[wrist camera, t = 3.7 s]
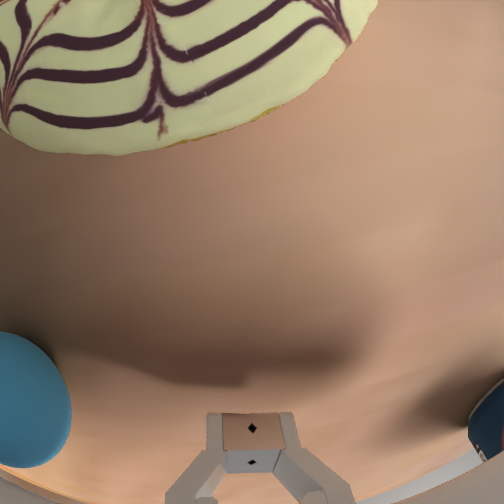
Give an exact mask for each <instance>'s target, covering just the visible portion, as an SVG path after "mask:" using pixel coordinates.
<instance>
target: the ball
mask: <svg viewBox="0 0 504 504" xmlns="http://www.w3.org/2000/svg"><path fill="white" fill-rule="evenodd" d="M71 418H72V415H71V402H70V397H69V393H68V390H67V387H66V384H65V382H64V380H63V378H62V376H61V374H60V372H59V370H58V369H57V367H56V366H55V364H54V363H53V362H52V360H51V359H50V358H49V357H48V356H47V355H46V354H45V353H44V352H43V351H42V350H41V349H40V348H39V347H37V346H36V345H35V344H33V343H32V342H30V341H29V340H27V339H25V338H23V337H21V336H18V335H16V334H12V333H8V332H0V463H1V464H3V465H6V466H10V467H15V468H31V467H35V466H39V465H42V464H44V463H46V462H48V461H49V460H51V459H52V458H53V457H55V456H56V455H57V453H58V452H59V451H60V450H61V449H62V447H63V446H64V444H65V442H66V440H67V437H68V435H69V431H70V426H71Z"/></svg>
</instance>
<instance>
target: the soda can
mask: <svg viewBox="0 0 504 504" xmlns="http://www.w3.org/2000/svg"><path fill="white" fill-rule="evenodd" d="M468 438H469V440H470V441H471V443H472V445H473V446H474V448H475V449H476V451H477V453H478V455H479V456H480V458H481V459H482V461H483V463H484V462H486V461H487V460H489V459H491V458H492V457H494V456H496V455H497V454H499V453H501V452H502V451H504V378H503V379H501V380H500V381H499V382H498V383H497V384H495V385H494V386H493V387H492V388H491V389H490V390H489V391H488V392H487V393H486V394H485V395H484V396H483V397H482V399H481V400H480V401H479V402H478V403H477V405H476V406H475V407H474V409H473V410H472V412H471V413H470V415H469V418H468Z"/></svg>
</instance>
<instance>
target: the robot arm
mask: <svg viewBox="0 0 504 504" xmlns="http://www.w3.org/2000/svg"><path fill="white" fill-rule="evenodd" d="M265 472H273V474H274V475H275V477H276V478H277V479H278V480H279V481H280V482H281V483H282V484H283V486H284V487H285V488H286V489H287V490H288V491H289V492H290V493H291V494H292V495H293V496H294V498H295V499H296V500H297V501H298V502H299V504H356V503H355V500H354V497H353V494H352V491H351V488H350V485H349V484H348V483H347V482H346V481H345V480H343V479H342V478H341V477H340V476H338V475H337V474H336V473H335V472H333V471H332V470H331V469H330V468H329V467H327V466H326V465H325V464H324V463H323V462H321V461H320V460H319V459H318V458H317V457H316V456H314V455H313V454H312V453H311V452H310V451H309V450H308V449H306V448H301V444H300V440H299V436H298V432H297V428H296V424H295V420H294V416H293V413H292V412H281V413H277V412H273V413H250V414H238V413H213V412H207V450H202V451H201V452H200V454H199V455H198V456H197V457H196V459H195V460H194V461H193V462H192V463H191V464H190V466H189V467H188V468H187V469H186V470H185V471H184V473H183V474H182V475H181V476H180V477H179V478H178V480H177V481H176V482H175V483H174V484H173V485H172V486H171V487H170V489H169V490H168V491H167V492H166V495H165V504H218V500H216V499H215V498H213V497H211V496H212V495H213V493H214V492H215V490H216V489H217V487H218V486H219V484H220V483H221V481H222V480H223V478H224V477H225V475H226V473H265ZM0 504H62V503H60V502H57V501H54V500H51V499H49V498H46V497H43V496H41V495H38V494H36V493H33V492H31V491H29V490H26V489H24V488H22V487H20V486H17V485H15V484H13V483H11V482H9V481H7V480H5V479H3V478H1V477H0ZM393 504H504V451H502V452H501V453H499V454H497V455H496V456H494V457H492V458H491V459H489V460H487V461H486V462H484V463H482V464H480V465H479V466H477V467H475V468H473V469H471V470H470V471H468V472H466V473H464V474H462V475H460V476H458V477H456V478H454V479H452V480H450V481H447V482H445V483H443V484H441V485H439V486H436V487H434V488H432V489H430V490H427V491H425V492H422V493H420V494H417V495H415V496H412V497H409V498H407V499H404V500H401V501H398V502H395V503H393Z"/></svg>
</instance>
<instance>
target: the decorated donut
mask: <svg viewBox="0 0 504 504" xmlns="http://www.w3.org/2000/svg"><path fill="white" fill-rule="evenodd" d="M377 4H378V0H0V128H1V129H2V130H3V131H4V132H6V133H7V134H9V135H11V136H12V137H14V138H15V139H17V140H19V141H22V142H24V143H25V144H27V145H28V146H30V147H32V148H35V149H37V150H40V151H43V152H52V153H58V154H61V153H74V154H79V155H93V154H106V155H111V156H122V155H126V154H130V153H135V152H142V151H151V150H155V149H158V148H166V147H172V146H174V145H177V144H183V143H187V142H188V141H196V140H199V139H202V138H205V137H208V136H213V135H216V134H218V133H222V132H224V131H227V130H231V129H233V128H236V127H237V126H240V125H243V124H246V123H248V122H252V121H255V120H256V119H258V118H260V117H262V116H264V115H265V114H269V113H270V112H272V111H274V110H275V109H276V108H278V107H279V106H281V105H284V104H286V103H287V102H289V101H291V100H293V99H294V98H295V97H297V96H299V95H300V94H302V93H304V92H305V91H306V90H308V89H309V88H310V87H311V86H312V85H313V84H314V83H315V82H317V81H318V80H319V79H320V78H322V77H323V76H324V75H326V74H327V72H328V70H329V68H330V66H331V65H332V63H333V62H335V61H337V59H338V57H339V56H340V55H341V54H342V52H343V51H344V50H345V49H346V48H347V47H348V46H349V45H350V44H352V43H353V42H354V41H355V40H356V39H357V38H358V37H359V35H360V33H361V32H362V30H363V28H364V26H365V24H366V23H367V21H368V17H369V16H370V14H371V13H372V12H373V11H374V10H375V8H376V6H377Z"/></svg>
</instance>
